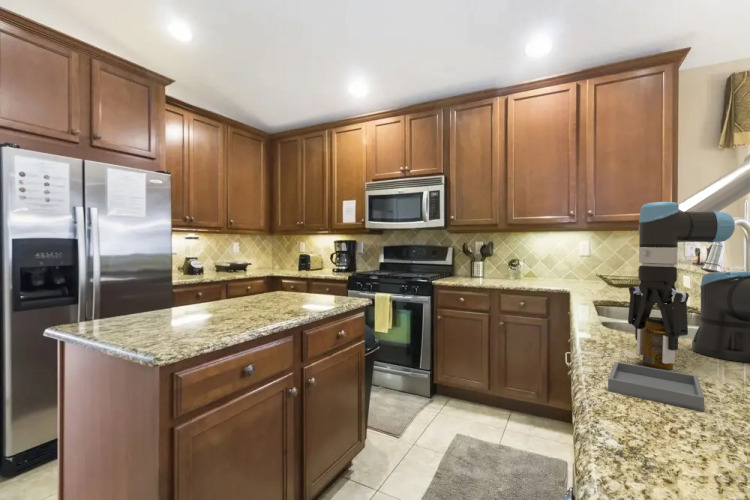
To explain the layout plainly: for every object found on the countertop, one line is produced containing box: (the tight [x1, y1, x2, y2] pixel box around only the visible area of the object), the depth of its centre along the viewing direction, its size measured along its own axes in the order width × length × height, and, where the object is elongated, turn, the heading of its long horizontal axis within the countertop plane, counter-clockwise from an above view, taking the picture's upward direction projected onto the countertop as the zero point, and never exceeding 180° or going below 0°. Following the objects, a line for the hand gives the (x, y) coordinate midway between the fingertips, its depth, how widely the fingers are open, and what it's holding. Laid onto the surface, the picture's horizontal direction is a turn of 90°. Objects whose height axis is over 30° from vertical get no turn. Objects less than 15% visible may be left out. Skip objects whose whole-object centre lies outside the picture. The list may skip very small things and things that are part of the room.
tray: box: [607, 361, 705, 412], centre depth 76 cm, size 15×15×2 cm
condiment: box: [632, 316, 681, 372], centre depth 90 cm, size 7×8×12 cm
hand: (655, 358), depth 90 cm, fingers closed on condiment, 6 cm apart
